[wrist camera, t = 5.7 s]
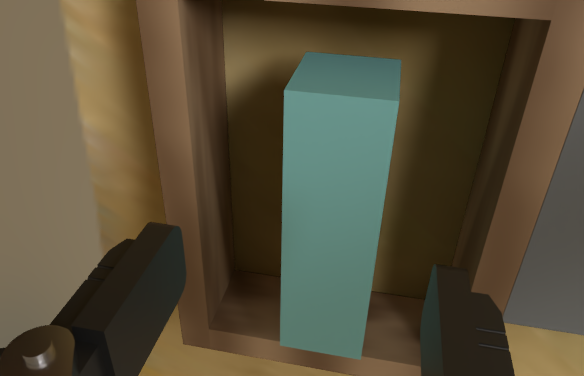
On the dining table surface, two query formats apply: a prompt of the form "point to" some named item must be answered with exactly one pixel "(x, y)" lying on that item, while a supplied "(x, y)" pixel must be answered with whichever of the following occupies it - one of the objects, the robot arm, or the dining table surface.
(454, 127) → the dining table surface
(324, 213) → the teal rectangular block
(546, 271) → the slate mat
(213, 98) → the pocket
